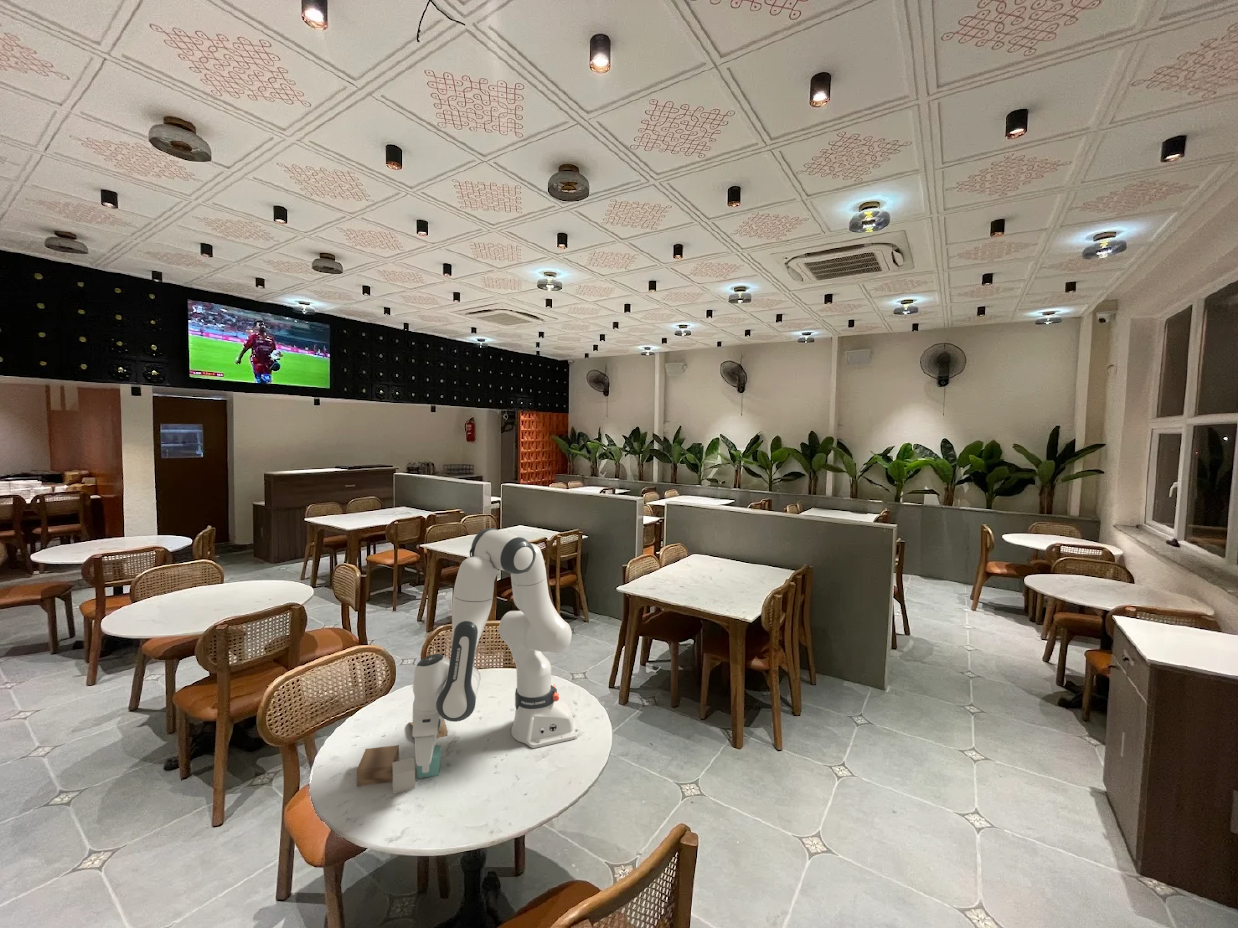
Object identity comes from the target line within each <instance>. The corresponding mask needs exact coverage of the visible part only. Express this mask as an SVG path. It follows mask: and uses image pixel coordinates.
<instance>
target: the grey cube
mask: <svg viewBox="0 0 1238 928" xmlns="http://www.w3.org/2000/svg"><path fill="white" fill-rule="evenodd" d="M415 765H416V764H415V758H414V757H413V756H412V757H409V758H405V759H401V760H400V759H399V761H396V762H392V782H391V783H392V795H395V794H400V793H403V792H407V791H410V790H413V789H416V767H415Z"/></svg>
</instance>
